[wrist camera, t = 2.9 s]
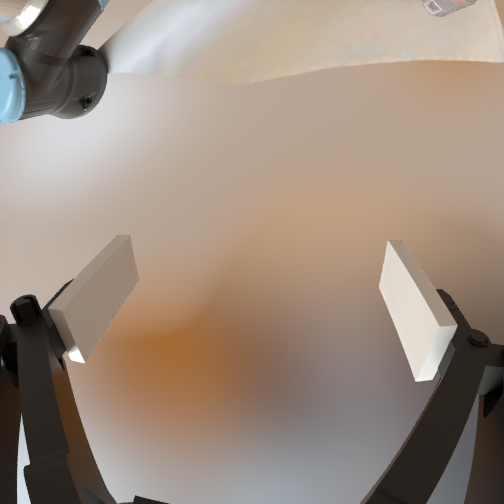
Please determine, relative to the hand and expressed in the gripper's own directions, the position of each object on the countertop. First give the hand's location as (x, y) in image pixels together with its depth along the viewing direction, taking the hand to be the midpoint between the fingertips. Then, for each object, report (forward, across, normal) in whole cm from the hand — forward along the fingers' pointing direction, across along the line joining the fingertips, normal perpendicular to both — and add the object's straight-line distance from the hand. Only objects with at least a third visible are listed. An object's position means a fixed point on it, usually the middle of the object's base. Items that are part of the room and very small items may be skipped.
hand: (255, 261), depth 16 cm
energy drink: (+41, +30, +30) cm, 59 cm away
